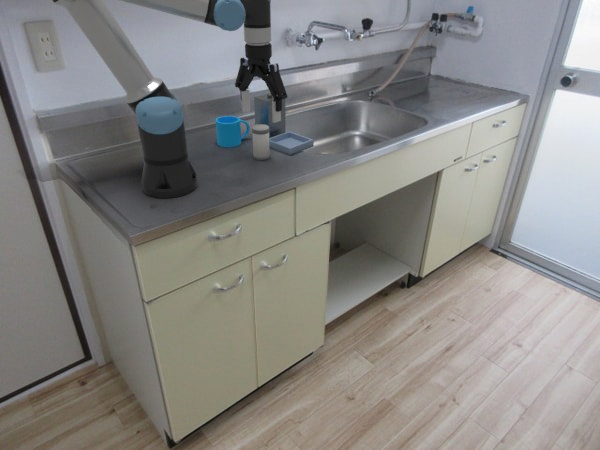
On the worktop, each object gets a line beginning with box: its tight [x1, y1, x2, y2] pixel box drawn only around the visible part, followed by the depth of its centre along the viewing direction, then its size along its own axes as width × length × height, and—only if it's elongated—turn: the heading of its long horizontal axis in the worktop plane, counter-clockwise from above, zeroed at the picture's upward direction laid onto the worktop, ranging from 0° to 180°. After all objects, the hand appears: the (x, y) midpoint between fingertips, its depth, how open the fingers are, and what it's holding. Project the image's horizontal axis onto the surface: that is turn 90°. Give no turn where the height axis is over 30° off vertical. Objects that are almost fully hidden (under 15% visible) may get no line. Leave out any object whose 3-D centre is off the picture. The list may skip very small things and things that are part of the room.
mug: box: [215, 115, 251, 148], centre depth 156 cm, size 12×8×8 cm
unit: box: [253, 92, 286, 138], centre depth 159 cm, size 8×7×15 cm
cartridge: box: [251, 124, 271, 161], centre depth 144 cm, size 5×5×10 cm
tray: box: [269, 130, 315, 156], centre depth 154 cm, size 11×11×2 cm
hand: (261, 116), depth 140 cm, fingers open, 13 cm apart
